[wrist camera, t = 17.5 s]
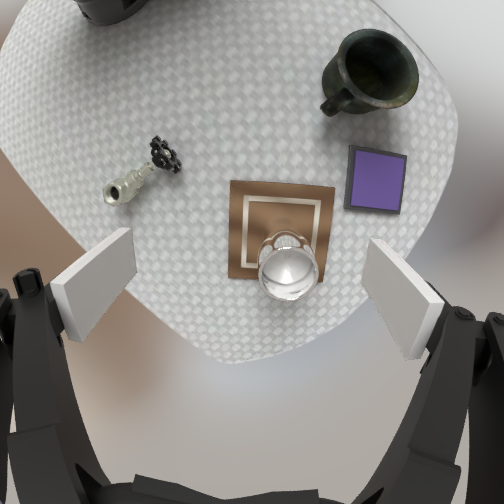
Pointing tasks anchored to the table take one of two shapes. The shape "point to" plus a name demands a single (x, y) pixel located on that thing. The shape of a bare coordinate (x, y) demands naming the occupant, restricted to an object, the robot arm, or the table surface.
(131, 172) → the valve
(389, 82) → the mug
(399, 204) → the ink pad
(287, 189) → the board
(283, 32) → the table surface
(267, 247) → the beer glass
